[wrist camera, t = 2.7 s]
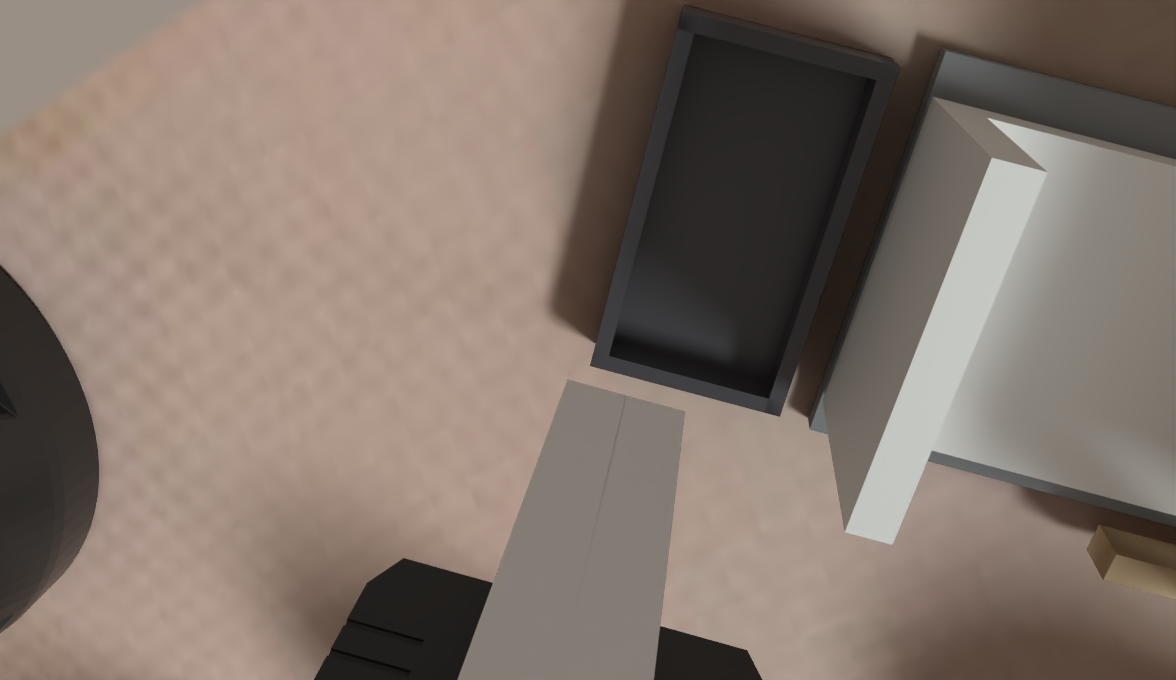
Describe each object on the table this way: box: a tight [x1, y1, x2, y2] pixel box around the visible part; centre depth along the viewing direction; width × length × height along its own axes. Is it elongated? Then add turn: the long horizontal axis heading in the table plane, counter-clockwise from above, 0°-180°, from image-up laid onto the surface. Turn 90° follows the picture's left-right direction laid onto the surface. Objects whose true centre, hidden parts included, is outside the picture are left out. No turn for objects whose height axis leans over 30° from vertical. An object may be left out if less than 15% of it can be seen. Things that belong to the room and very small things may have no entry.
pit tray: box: [590, 5, 900, 417], centre depth 26 cm, size 5×9×1 cm, turn 167°
